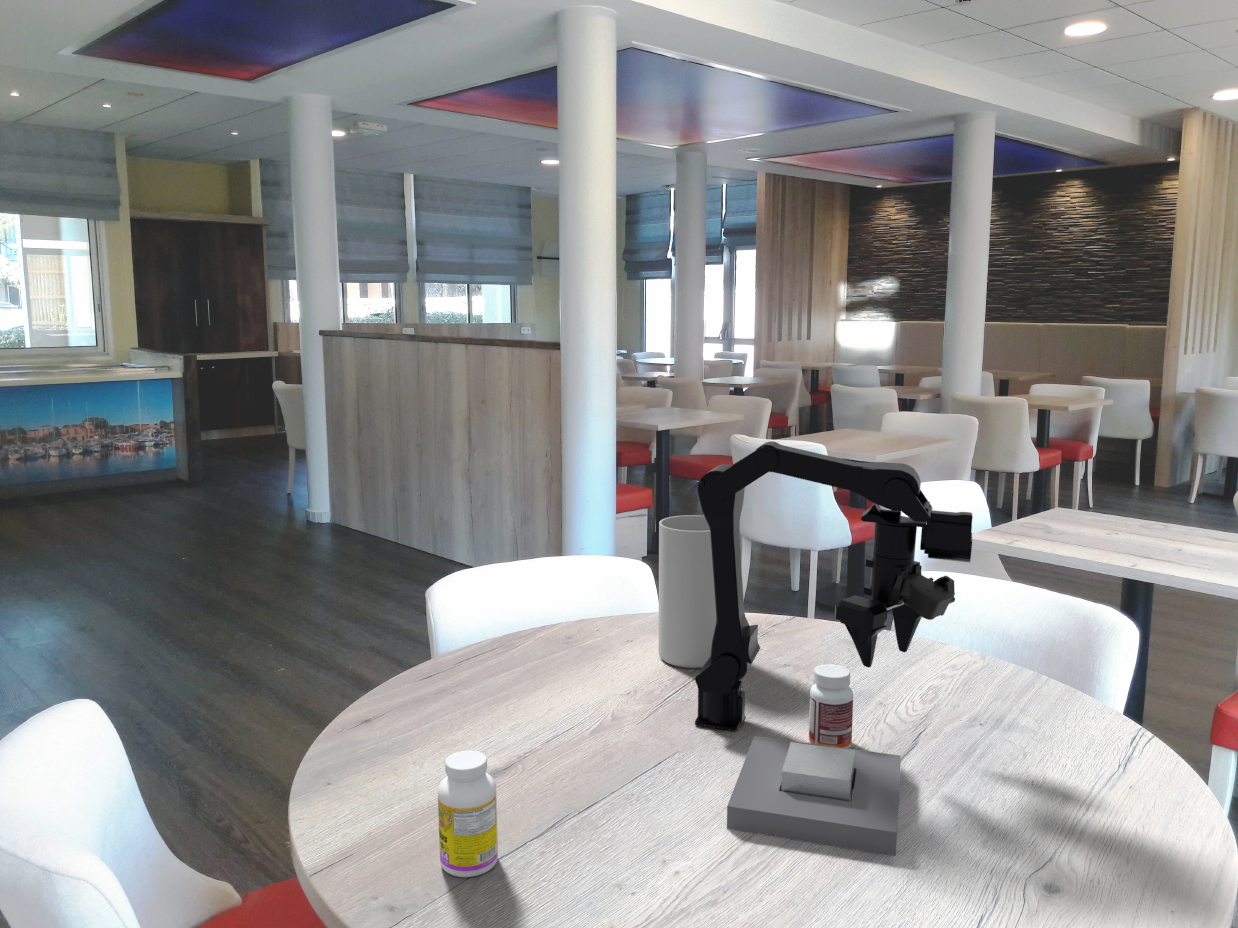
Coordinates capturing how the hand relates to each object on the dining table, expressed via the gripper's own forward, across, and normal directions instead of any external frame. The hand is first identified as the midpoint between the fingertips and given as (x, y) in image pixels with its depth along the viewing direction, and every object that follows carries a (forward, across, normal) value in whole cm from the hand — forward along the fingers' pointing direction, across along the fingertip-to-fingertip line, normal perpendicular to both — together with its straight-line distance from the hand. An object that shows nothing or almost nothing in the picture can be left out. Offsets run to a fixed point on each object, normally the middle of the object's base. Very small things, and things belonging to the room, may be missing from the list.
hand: (885, 658), depth 138 cm
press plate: (+13, -20, -4) cm, 24 cm away
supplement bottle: (+14, -61, +15) cm, 65 cm away
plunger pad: (+11, -20, -4) cm, 23 cm away
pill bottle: (+14, -5, +5) cm, 15 cm away
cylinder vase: (+14, +5, +42) cm, 45 cm away
